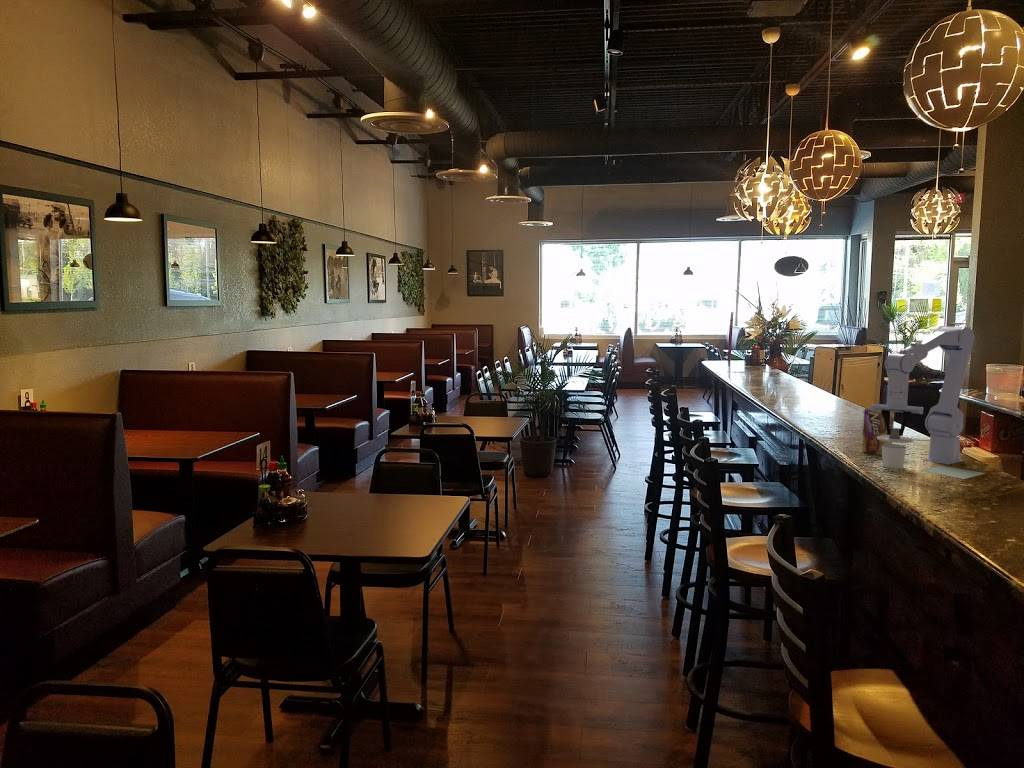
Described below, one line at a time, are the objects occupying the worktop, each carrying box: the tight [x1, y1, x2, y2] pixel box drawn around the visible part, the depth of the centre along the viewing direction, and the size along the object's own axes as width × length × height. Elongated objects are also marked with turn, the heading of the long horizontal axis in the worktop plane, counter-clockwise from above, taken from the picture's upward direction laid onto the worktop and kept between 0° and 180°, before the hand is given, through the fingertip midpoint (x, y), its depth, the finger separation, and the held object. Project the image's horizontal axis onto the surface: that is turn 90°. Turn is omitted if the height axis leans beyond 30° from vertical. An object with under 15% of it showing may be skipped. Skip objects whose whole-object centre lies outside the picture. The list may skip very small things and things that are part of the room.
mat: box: [919, 464, 986, 480], centre depth 225 cm, size 13×13×1 cm
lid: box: [877, 427, 914, 444], centre depth 231 cm, size 10×10×4 cm
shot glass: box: [881, 443, 907, 470], centre depth 232 cm, size 7×7×7 cm
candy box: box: [861, 407, 895, 456], centre depth 253 cm, size 9×4×15 cm, turn 26°
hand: (894, 435), depth 231 cm, fingers closed on lid, 3 cm apart
